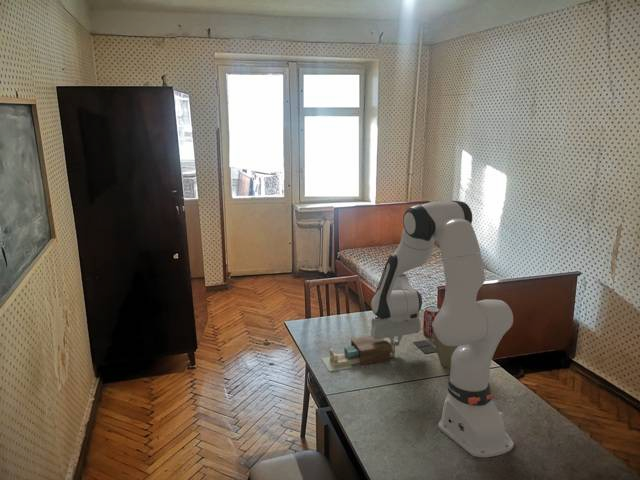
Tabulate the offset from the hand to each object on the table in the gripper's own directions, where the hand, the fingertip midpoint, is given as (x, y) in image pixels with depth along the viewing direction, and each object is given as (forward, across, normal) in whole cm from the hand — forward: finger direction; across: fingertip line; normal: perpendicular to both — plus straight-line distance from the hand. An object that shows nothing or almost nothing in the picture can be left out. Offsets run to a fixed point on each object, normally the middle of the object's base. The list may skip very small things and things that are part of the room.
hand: (395, 345), depth 183 cm
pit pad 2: (+4, +14, -2) cm, 15 cm away
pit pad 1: (+4, +14, +4) cm, 15 cm away
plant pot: (+4, +16, -14) cm, 22 cm away
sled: (+4, -14, 0) cm, 14 cm away
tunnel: (+4, -11, 0) cm, 11 cm away
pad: (+4, -25, 0) cm, 25 cm away
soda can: (+4, +22, +10) cm, 25 cm away
